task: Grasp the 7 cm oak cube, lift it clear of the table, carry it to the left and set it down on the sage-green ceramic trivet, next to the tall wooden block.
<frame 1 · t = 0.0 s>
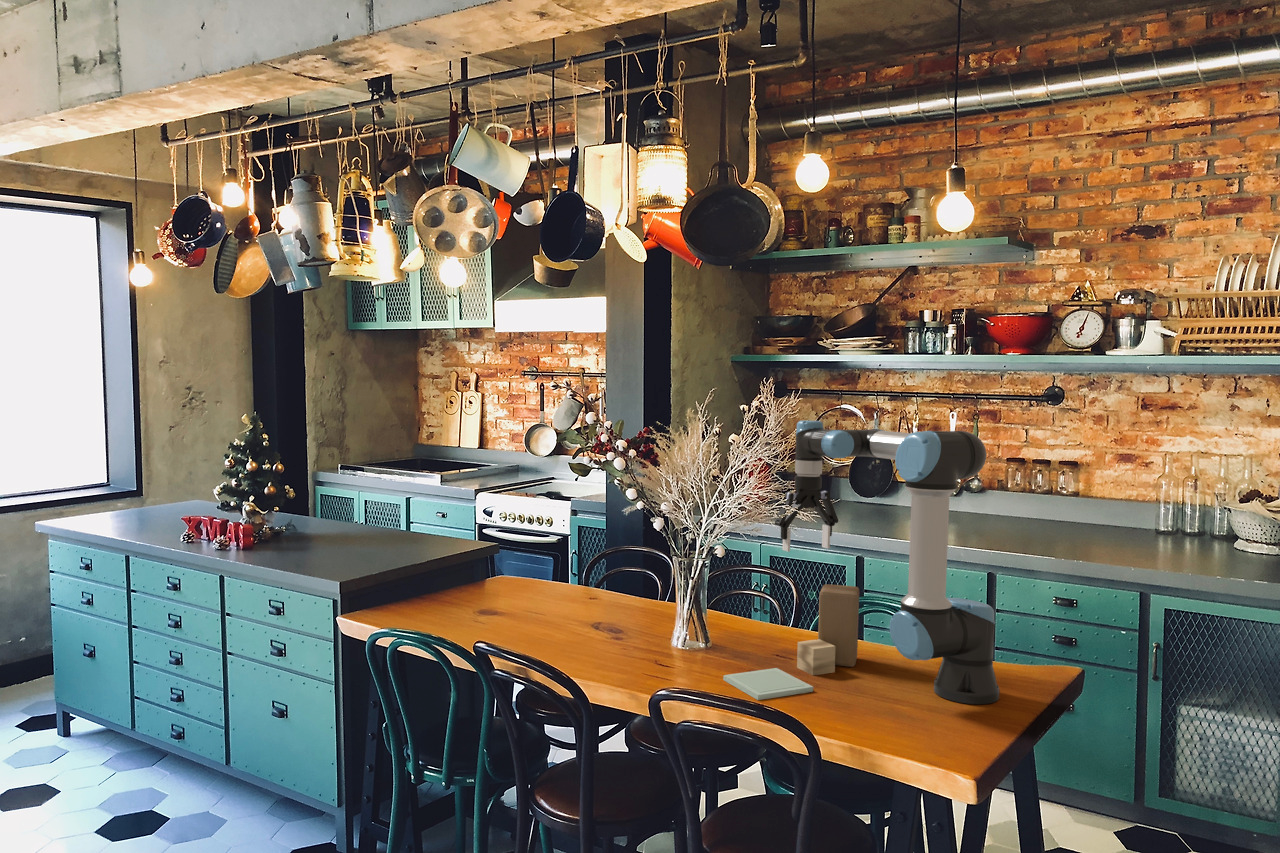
hand: (806, 549, 267), 28 cm above the table, fingers open, 13 cm apart
trivet: (767, 685, 234), on the table
oak cube: (815, 670, 247), on the table
wooden block: (837, 661, 256), on the table
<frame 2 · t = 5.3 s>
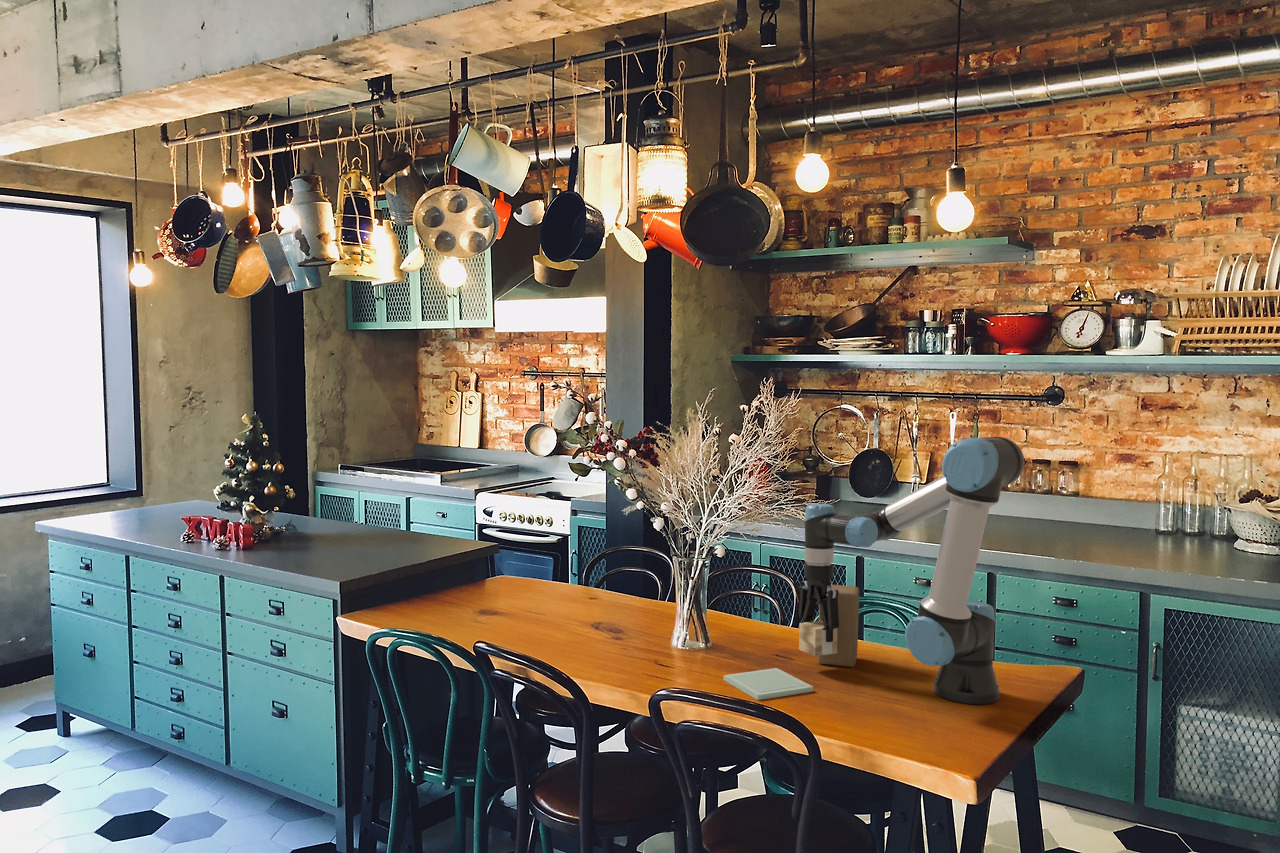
hand: (818, 649, 247), 5 cm above the table, fingers closed on oak cube, 7 cm apart
oak cube: (817, 651, 247), point 5 cm above the table, touching gripper
everything else where it was.
when the fingers open (2 cm above the table, at t = 9.9 s): oak cube stays where it is, resting on trivet.
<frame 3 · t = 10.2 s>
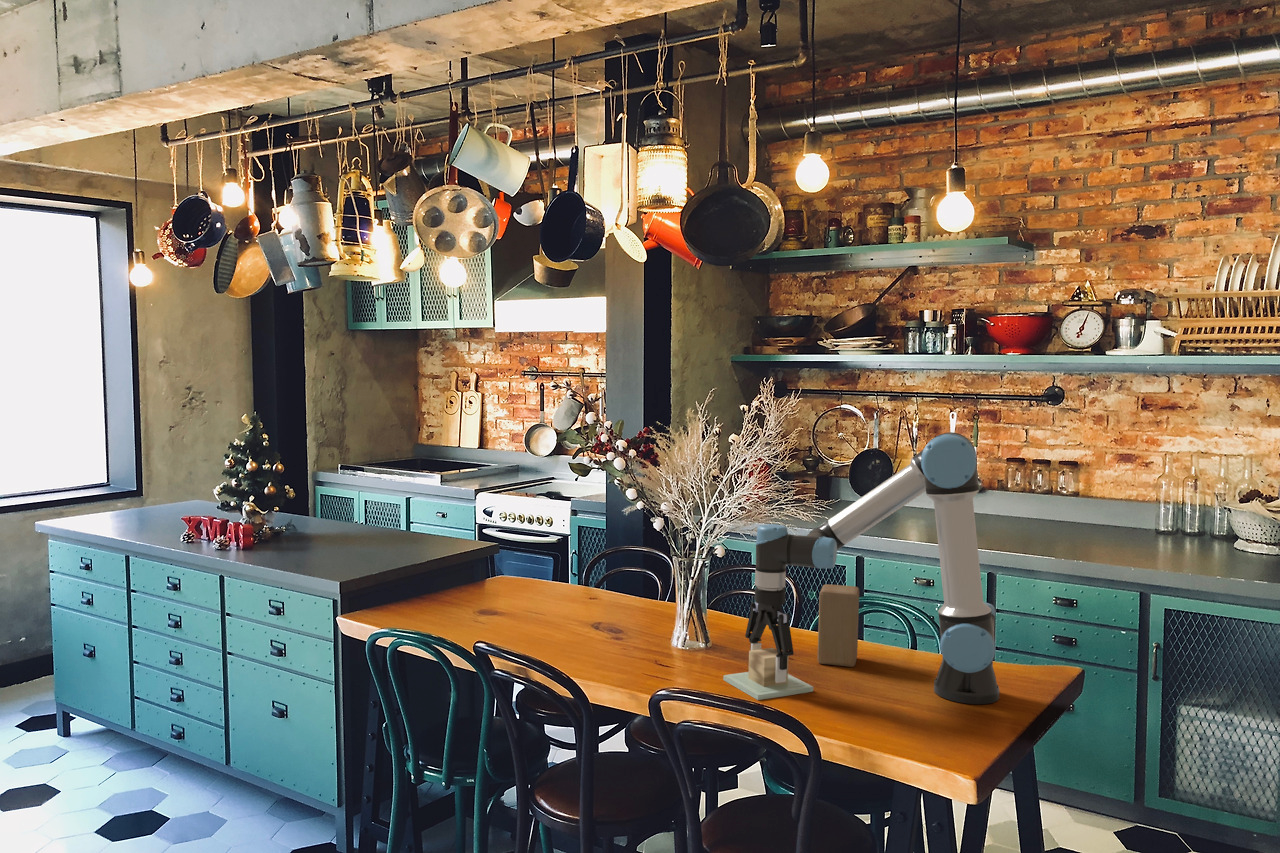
hand: (767, 675, 234), 3 cm above the table, fingers open, 10 cm apart
oak cube: (767, 680, 234), point 1 cm above the table, touching trivet
everything else where it was.
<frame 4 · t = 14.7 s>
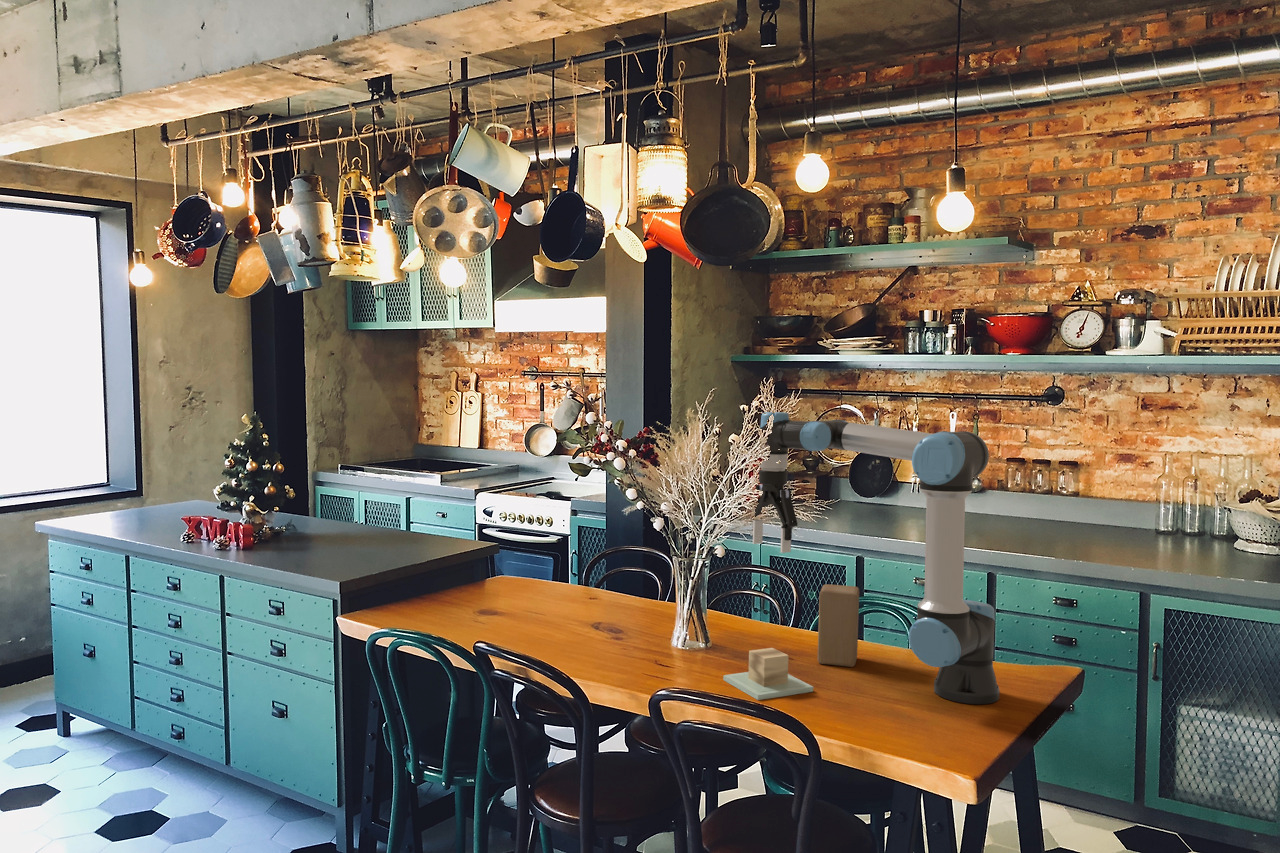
hand: (771, 547, 254), 31 cm above the table, fingers open, 13 cm apart
nothing on the table moved.
at the end: oak cube inside the target area on the trivet (0.1 cm from its centre), point 1.3 cm above the trivet's base; oak cube tilted 0°; the gripper is holding nothing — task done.
